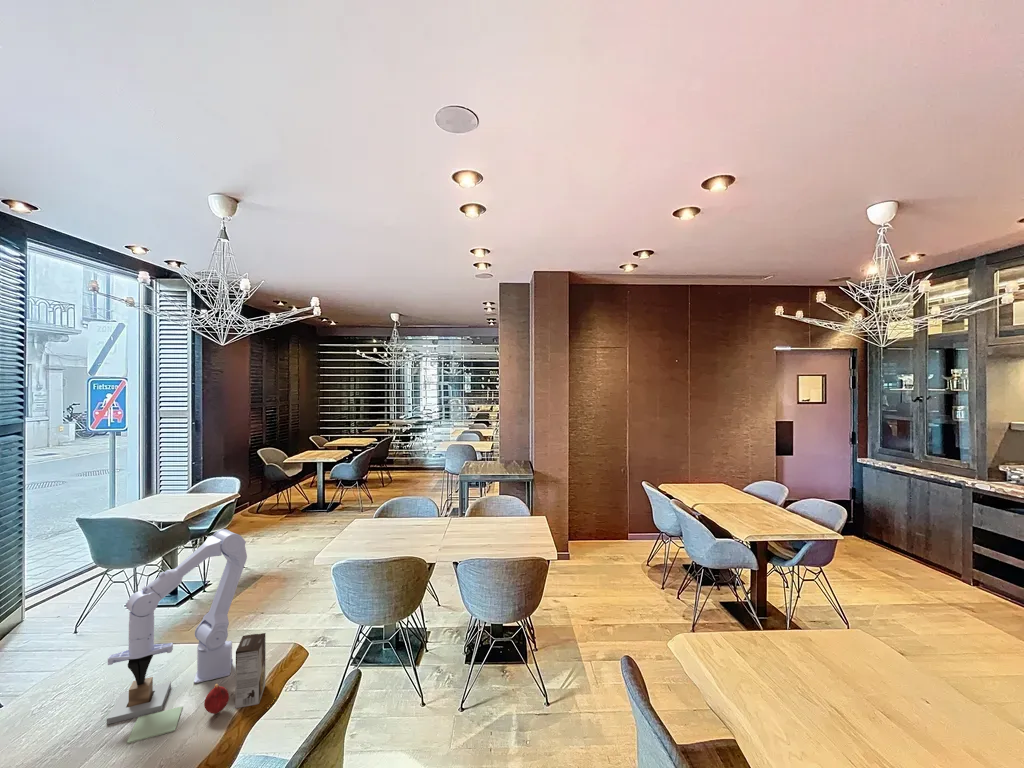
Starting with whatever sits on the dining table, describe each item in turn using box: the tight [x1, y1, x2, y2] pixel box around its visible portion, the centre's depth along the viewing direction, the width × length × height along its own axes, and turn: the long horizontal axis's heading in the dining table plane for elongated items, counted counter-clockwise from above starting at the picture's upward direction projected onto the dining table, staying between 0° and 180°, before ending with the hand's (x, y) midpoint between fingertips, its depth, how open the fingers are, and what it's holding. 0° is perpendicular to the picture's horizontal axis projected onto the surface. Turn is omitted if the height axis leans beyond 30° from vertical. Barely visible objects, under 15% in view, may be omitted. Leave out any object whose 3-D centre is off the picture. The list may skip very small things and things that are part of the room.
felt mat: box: [126, 706, 183, 744], centre depth 124 cm, size 10×10×1 cm
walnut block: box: [128, 676, 154, 707], centre depth 132 cm, size 4×4×6 cm
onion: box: [203, 683, 230, 715], centre depth 129 cm, size 6×6×8 cm
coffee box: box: [234, 632, 267, 709], centre depth 136 cm, size 9×6×16 cm
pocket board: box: [106, 681, 172, 725], centre depth 132 cm, size 12×12×2 cm
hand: (140, 682), depth 132 cm, fingers closed
